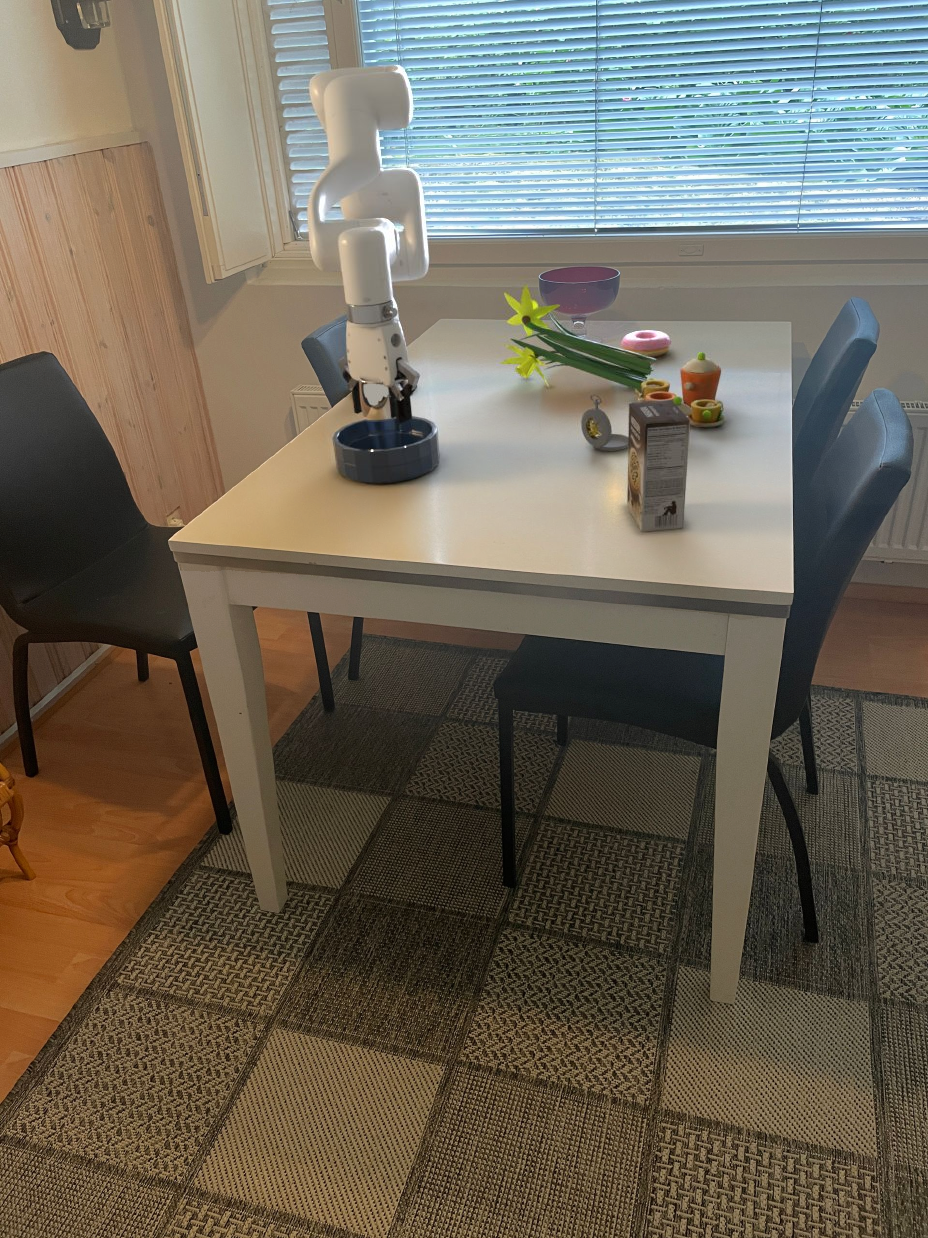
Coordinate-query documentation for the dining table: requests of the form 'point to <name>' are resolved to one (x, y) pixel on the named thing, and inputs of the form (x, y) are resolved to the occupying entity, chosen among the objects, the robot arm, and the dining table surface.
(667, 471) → the coffee box
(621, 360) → the daffodil flowers
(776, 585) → the dining table surface
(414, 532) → the dining table surface
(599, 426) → the pocket watch
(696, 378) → the toy tea set
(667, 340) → the doughnut
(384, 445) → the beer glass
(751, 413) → the dining table surface
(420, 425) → the bowl
